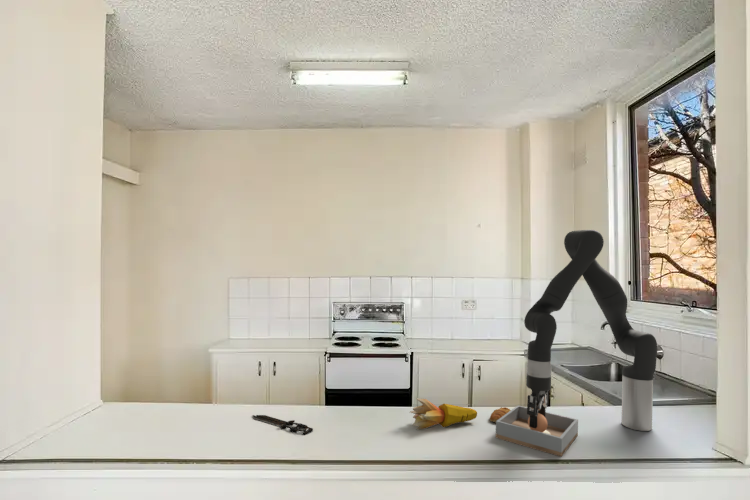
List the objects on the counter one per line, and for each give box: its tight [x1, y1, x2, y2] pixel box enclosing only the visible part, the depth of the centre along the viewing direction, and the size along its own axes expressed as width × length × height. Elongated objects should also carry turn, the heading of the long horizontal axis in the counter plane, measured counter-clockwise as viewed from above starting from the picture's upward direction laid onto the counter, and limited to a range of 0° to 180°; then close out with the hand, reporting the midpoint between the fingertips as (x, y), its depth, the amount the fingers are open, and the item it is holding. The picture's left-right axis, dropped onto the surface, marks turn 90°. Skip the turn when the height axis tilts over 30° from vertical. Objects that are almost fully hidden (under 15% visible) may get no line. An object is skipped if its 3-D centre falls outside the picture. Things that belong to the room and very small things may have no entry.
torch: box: [409, 397, 478, 430], centre depth 148 cm, size 8×8×25 cm
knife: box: [251, 414, 314, 436], centre depth 145 cm, size 25×6×1 cm, turn 54°
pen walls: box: [495, 404, 579, 453], centre depth 140 cm, size 20×20×4 cm
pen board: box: [495, 418, 579, 457], centre depth 140 cm, size 20×20×1 cm
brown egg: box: [528, 413, 548, 432], centre depth 140 cm, size 6×6×6 cm
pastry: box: [489, 406, 512, 423], centre depth 154 cm, size 9×7×4 cm
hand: (537, 423), depth 141 cm, fingers open, 8 cm apart
